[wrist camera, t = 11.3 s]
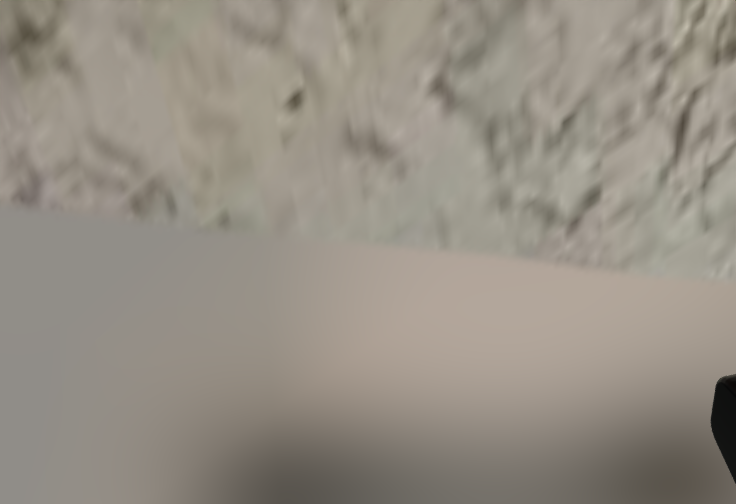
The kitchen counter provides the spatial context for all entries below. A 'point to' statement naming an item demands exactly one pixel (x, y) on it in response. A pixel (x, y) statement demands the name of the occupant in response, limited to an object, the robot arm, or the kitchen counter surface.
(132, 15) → the kitchen counter surface
